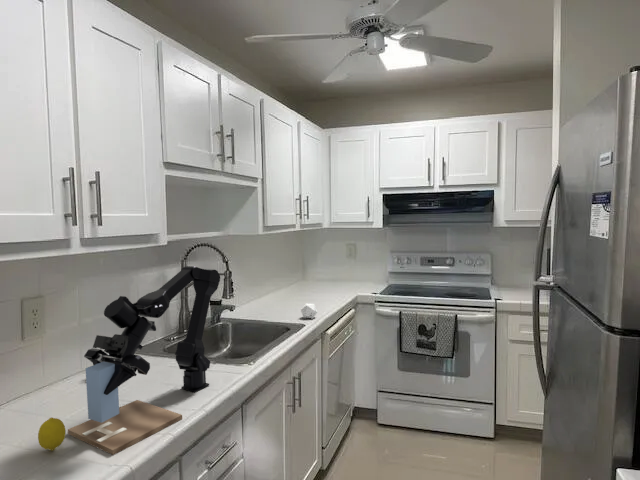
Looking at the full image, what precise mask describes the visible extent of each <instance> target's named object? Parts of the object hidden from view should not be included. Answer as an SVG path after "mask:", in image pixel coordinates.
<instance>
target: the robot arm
mask: <svg viewBox="0 0 640 480" xmlns="http://www.w3.org/2000/svg"><path fill="white" fill-rule="evenodd" d="M191 282H193V285H192V287H193V289H194V292H195V297H194V302H193V304H192V305H193V306H192V310H191V315H190V318H189V323H188V328H187V331H186V332H187V333H186V336H185V337H184V339H183V340H182V341H178V343H177V346H176V350H175V353H174V355H175V361H176V364H177V365H178V367H179V370H183V380H182V381H183V385H182V386H181V387H180V388H181V390H185V391H189V392H192V393H195V392H198V391H200V390H203V389H204V388H207V387H209V386H210V383H208V382H207V377H206V376H207V375H206V374H207V373H206V372H207V370H208V369H210V366H211V360H209V358H207V356H205V346H204V342H203V336H204V335H203V334H204V331H205V325H206V321H207V317H208V311H209V307H210V302H211V298H212V296H213V295H214V294H215V292H216V291H217V290H218V288H219V284H220V282H221V274H220V273H219V271H218V270H217V269H207V268H206V269H205V268H200V267H197V266H191V265H185V266H183V267H182V268H181V269H180V271H179V272H177V273H176V274H175V275H174V276H172V278H170V279H169V280H168V281H166V283H164V284H163V285H162V286H161V287H160V288H158V289H157V290H155V291H151V292H148V293H146V294H145V295H143V296H141V297H140V298H139V299H138V300H137V301H136V302H133V303H132V302H131V301H130V299H129V298H128V297H127V296H124V295H120V296H119V297H118V298H117V299H115V300H114V301H112V302H111V303H109V304H107V305H106V307H105V308H104V310H103V315H104V316H105V318H106V319H107V320H109V321H110V322H112V323H113V324H114V325H115V326H117V327H118V328H120V329H123V330H122V332H121V334H118V333H116V334H113V335H112V336H105V335H99V334H96V336H95V339H94V342H93V345H92V348H89V349H88V350H87V351H86V353H84V356H83V357H84V358H85V359H86V360H88V361H89V362H91V363H92V366H93V365H96V364H98V363H101V362H108V363H113V364H115V372H114V374H113V375H112V377H111V379H110V381H109V383H108V385H107V386H106V389H105V391H104V394H105V395H108V394H109V393H111V392H112V391H113V390H115V389H116V388H117V387H118V388H119V387H120V386H121V385H123V384H124V383H126V382H127V381H128V380H130V379H131V378H133V377H136V376H137V374H139V375H145V376H147V375H148V373H149V371H150V369H151V363H150V362H148V360H146V359H145V358H144V357H142V355H141V356H140V355H138V354H136V352H137V350H139V351H141V350H142V349H143V347H144V346H143V345H142V343H143V341H144V339H145V337H146V336H147V335H148V333H149V331H150V332H151V331H152V332H156V331H157V327H156V325H155V324H156V323H155V321H153V320H149V319H148V318H152V319H153V318H154V319H159V318H161V317H163V315H164V314H165V313H166V312H167V310H168V309H169V308H170V304H171V303H170V302H171V301H172V300H173V299H174V298H175V297H176V296H178V294H179V293H181V292H182V291H183V290H184V289H185V288H186V287H187V286H188V285H190V284H191ZM98 348H99V349H98ZM108 354H109V355H108Z"/></svg>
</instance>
